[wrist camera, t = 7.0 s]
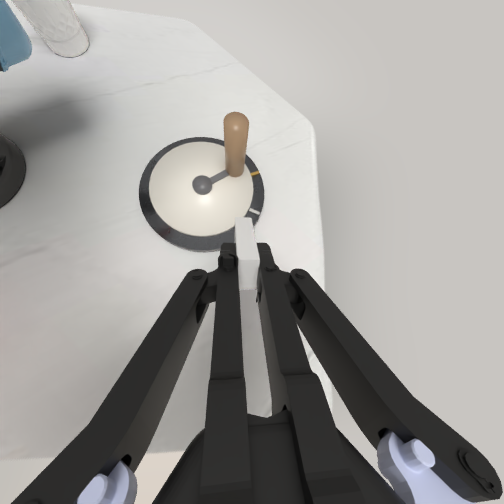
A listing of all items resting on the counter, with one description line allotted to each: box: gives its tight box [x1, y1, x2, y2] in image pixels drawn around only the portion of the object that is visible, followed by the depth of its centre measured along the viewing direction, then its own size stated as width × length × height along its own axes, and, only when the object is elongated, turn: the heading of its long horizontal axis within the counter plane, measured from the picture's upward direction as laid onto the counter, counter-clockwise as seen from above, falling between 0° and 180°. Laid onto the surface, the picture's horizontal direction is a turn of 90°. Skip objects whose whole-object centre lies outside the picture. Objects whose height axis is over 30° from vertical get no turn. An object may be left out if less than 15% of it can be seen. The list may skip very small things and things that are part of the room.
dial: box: [149, 112, 253, 237], centre depth 27 cm, size 16×16×10 cm
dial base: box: [139, 137, 264, 252], centre depth 33 cm, size 20×20×2 cm
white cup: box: [11, 0, 89, 57], centre depth 32 cm, size 8×8×10 cm
